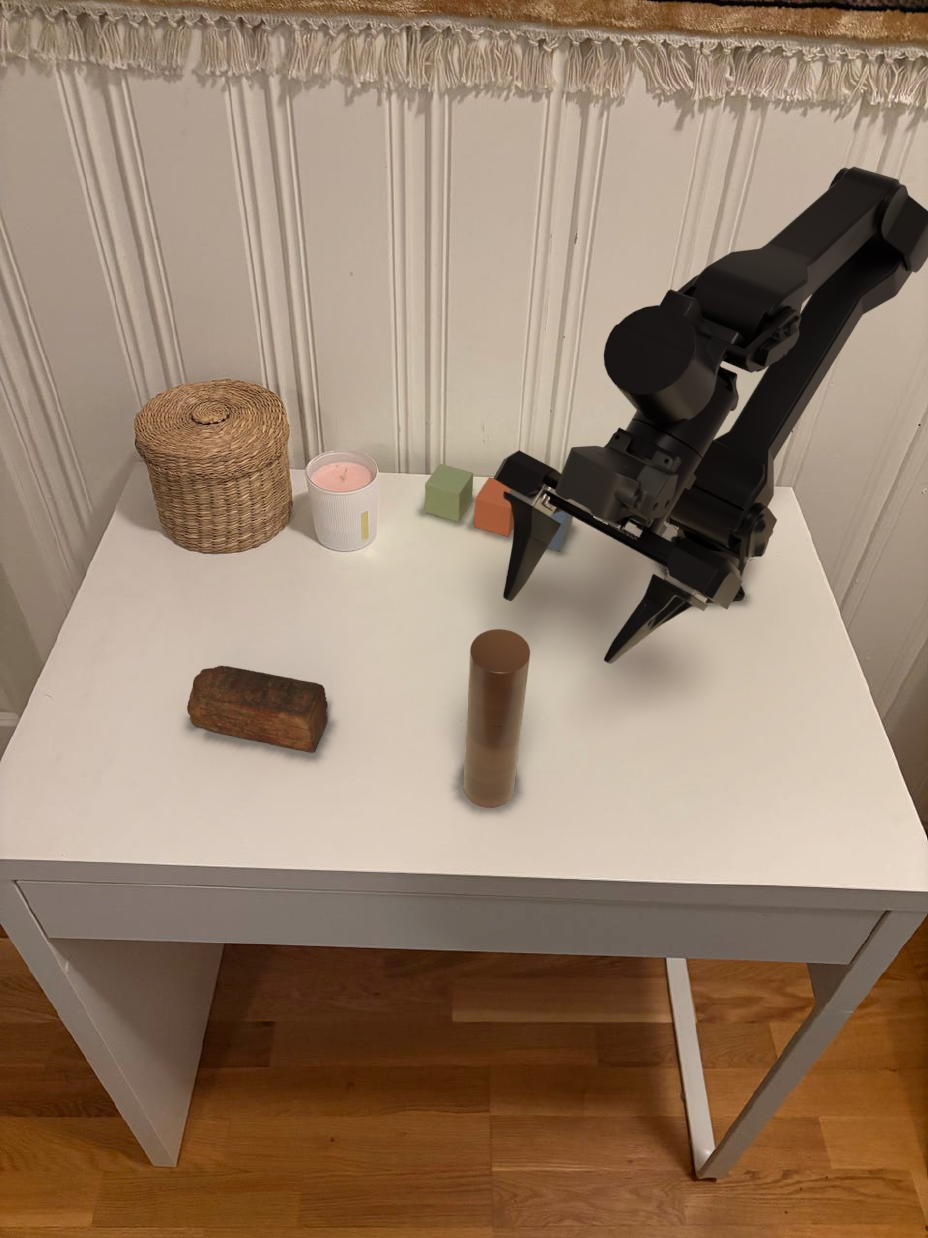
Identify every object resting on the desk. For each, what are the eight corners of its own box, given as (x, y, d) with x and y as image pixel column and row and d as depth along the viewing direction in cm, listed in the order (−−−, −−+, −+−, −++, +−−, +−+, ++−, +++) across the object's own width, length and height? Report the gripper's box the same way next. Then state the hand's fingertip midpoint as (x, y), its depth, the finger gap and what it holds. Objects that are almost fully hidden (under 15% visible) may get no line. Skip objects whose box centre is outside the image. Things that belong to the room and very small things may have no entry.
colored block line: (571, 529, 95) (575, 500, 93) (559, 551, 93) (563, 522, 90) (439, 492, 99) (439, 463, 96) (424, 512, 97) (424, 483, 94)
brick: (330, 717, 78) (325, 681, 74) (314, 755, 75) (308, 719, 71) (211, 694, 79) (201, 657, 76) (191, 730, 76) (180, 693, 73)
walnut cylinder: (485, 756, 75) (496, 620, 64) (524, 784, 73) (542, 649, 62) (452, 787, 73) (457, 651, 62) (491, 817, 71) (504, 682, 60)
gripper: (519, 349, 63) (408, 550, 65) (766, 464, 54) (630, 691, 56) (574, 403, 73) (477, 577, 74) (790, 507, 64) (674, 699, 66)
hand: (555, 630), depth 68 cm, fingers open, 9 cm apart
